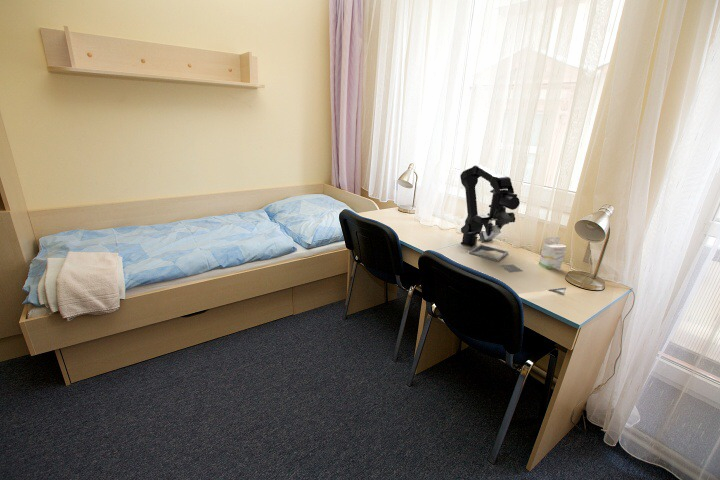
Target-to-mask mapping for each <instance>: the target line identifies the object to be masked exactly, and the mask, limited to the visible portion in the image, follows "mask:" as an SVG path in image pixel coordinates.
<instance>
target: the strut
mask: <svg viewBox="0 0 720 480" xmlns="http://www.w3.org/2000/svg"><path fill="white" fill-rule="evenodd" d="M501 233H502V231H501V230H500V228H499V225H495V224H493V225H492V226H491V230H490V234H489V236H487V234H486V231H484V232H481V233H480V234H479V236H480V239H481V240H480V242H481V243H482V244H483V243H484V244H485V243H491V242H492V241H493V240H494V239H495V238H496V237H497V236H499V235H500V234H501Z"/></svg>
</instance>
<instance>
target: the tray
mask: <svg viewBox="0 0 720 480" xmlns="http://www.w3.org/2000/svg"><path fill="white" fill-rule="evenodd" d="M493 251H496V252H499V253H503V254H501V255H500V256H499V257H498V258H496V257H495V258H494V257H493V256H492V257H491V256H488V255H485V254H481V252H483V253H484V252H493ZM468 254H470V255H473V256H477V257H481V258H484V259H487V260H490V261H494V262H497V263H498V262H500V261H501V260H502V259H503V258H505V256H507V255H508V254H509V251H508V250H503V249H500V248H496V247H492V246H488V245H485V244H483V243H482V244H478V245H476V246H474V248H472V249H471V250H470V251H469V252H468Z"/></svg>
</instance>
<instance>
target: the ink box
mask: <svg viewBox="0 0 720 480" xmlns="http://www.w3.org/2000/svg"><path fill="white" fill-rule="evenodd" d="M560 239H561V237H560V236H546V237H545V238H544V243H543V245H542V248H541V252H540V253H541V254H540V257H539V261H538V266H540V267H542V268H544V269H546V270H547V269H556V270H557V271H561V269H562V265H563V262H564V258H565V254H566V251H567V249H568V248H567V247H568V246H567V245H564V244H562V243H560Z"/></svg>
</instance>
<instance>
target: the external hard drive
mask: <svg viewBox="0 0 720 480" xmlns="http://www.w3.org/2000/svg"><path fill="white" fill-rule="evenodd" d="M566 290H567V287H560V288H552V289H551V288H550V289H547V291H548V292H552V293H556V294H559V295H564V294H565V291H566Z"/></svg>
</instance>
